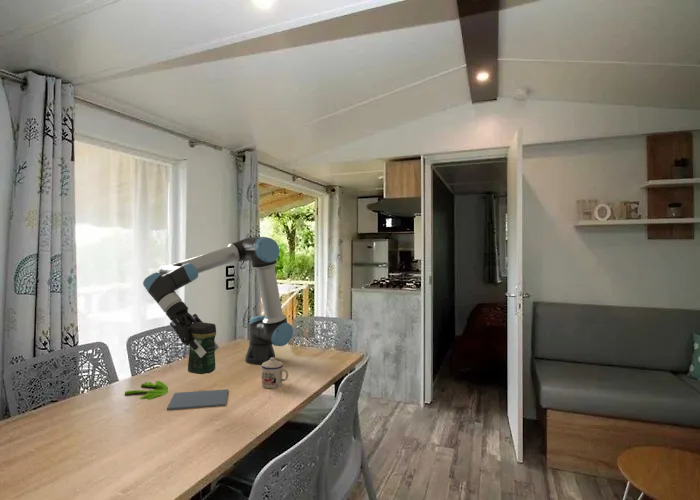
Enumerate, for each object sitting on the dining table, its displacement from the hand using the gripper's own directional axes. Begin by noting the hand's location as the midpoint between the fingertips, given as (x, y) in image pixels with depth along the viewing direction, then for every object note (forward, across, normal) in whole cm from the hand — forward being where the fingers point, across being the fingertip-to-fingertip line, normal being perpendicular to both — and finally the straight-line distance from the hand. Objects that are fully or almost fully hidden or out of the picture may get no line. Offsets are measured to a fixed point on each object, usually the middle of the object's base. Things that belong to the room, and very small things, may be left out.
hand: (210, 352), depth 146 cm
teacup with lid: (+25, -23, -1) cm, 34 cm away
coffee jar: (+3, 0, -8) cm, 9 cm away
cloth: (-8, -4, -36) cm, 37 cm away
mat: (+10, -1, -16) cm, 19 cm away
